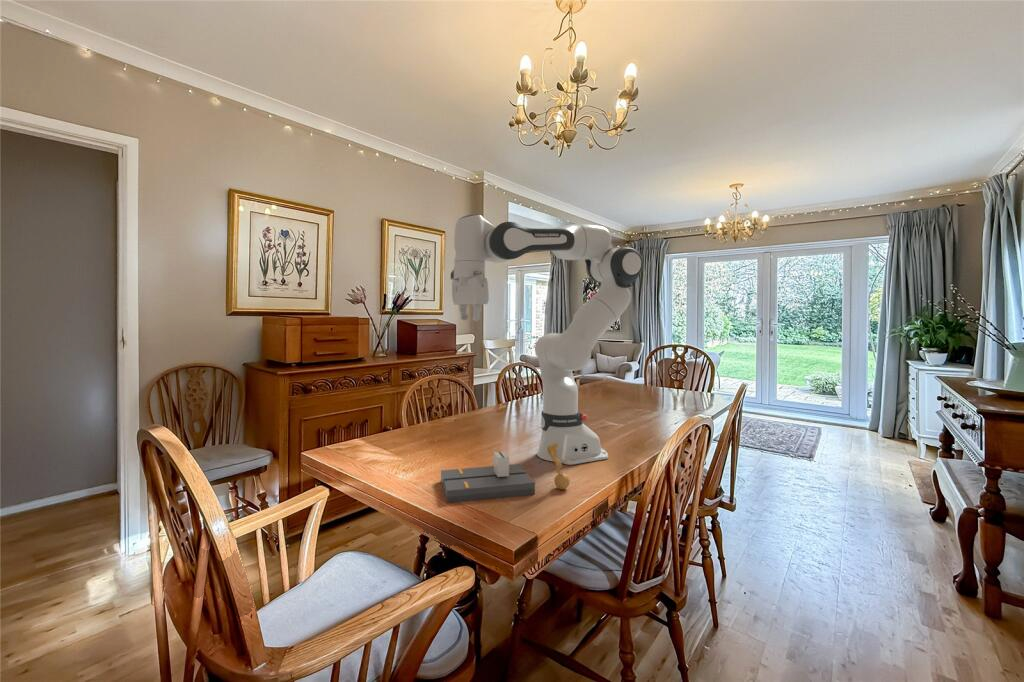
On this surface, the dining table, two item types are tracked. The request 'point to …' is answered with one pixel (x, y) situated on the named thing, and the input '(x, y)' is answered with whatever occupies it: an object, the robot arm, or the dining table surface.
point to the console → (485, 483)
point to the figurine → (560, 479)
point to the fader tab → (501, 464)
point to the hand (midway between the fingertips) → (469, 320)
